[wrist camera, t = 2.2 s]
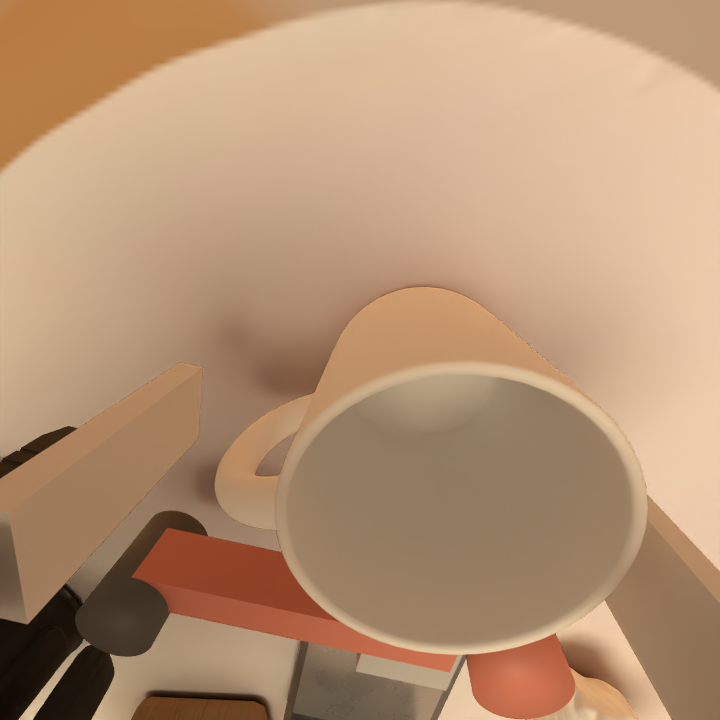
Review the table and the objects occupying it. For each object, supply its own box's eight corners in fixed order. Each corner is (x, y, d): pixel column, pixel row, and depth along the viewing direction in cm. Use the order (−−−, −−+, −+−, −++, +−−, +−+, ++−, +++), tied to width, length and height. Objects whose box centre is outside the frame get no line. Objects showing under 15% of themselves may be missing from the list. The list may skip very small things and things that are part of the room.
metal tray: (287, 700, 28) (261, 822, 22) (333, 493, 21) (313, 591, 15) (425, 730, 28) (434, 858, 22) (516, 532, 21) (562, 645, 15)
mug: (290, 465, 21) (204, 678, 11) (240, 322, 18) (66, 436, 8) (514, 427, 19) (649, 641, 9) (494, 263, 16) (652, 320, 6)
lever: (159, 543, 20) (78, 655, 15) (160, 482, 18) (71, 583, 13) (517, 620, 20) (562, 759, 15) (545, 566, 18) (606, 698, 13)
